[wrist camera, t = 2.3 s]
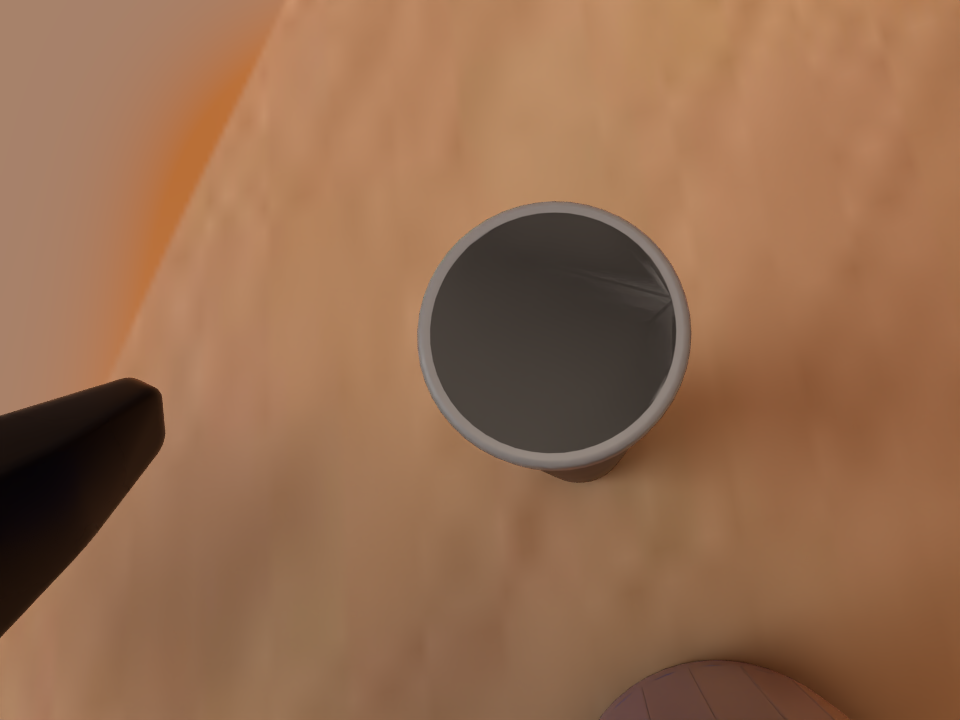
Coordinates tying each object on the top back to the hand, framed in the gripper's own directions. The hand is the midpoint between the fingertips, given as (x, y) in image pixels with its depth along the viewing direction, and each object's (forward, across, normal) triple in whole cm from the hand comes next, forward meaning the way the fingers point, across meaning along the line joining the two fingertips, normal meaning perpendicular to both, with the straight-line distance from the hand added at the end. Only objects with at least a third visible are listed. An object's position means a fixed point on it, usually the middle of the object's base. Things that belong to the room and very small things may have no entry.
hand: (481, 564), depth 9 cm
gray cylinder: (+8, 0, +5) cm, 10 cm away
